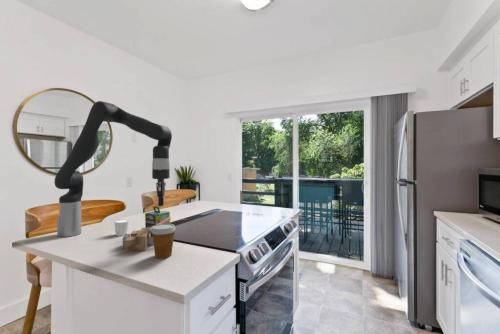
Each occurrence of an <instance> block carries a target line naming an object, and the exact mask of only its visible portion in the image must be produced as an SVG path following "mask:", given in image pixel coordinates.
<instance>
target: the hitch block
mask: <svg viewBox="0 0 500 334" xmlns="http://www.w3.org/2000/svg"><path fill="white" fill-rule="evenodd" d="M150 228H151V227H149V228H146V227H141V229H140V230H132V231H131V232H130V233H129V234H130V237H127V239H126V240H125V249H124V252H125V253H133V252H145V251H146V250H147V248H148V246H147V237H152V236H151V233H148V231H149V229H150Z"/></svg>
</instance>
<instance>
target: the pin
mask: <svg viewBox="0 0 500 334" xmlns="http://www.w3.org/2000/svg"><path fill="white" fill-rule="evenodd" d="M130 234H131V233H128V234H125V235H124V236H122V250H125V240H126V239H127V237H130ZM149 246H154V244H153V236H151V237H147V247H149Z"/></svg>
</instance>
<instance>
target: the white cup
mask: <svg viewBox="0 0 500 334" xmlns="http://www.w3.org/2000/svg"><path fill="white" fill-rule="evenodd" d="M129 227H130V220H129V219H120V220H115V221H114V228H115V230H114V231H115V236H117V237H123V236H124V235H125V234H129Z"/></svg>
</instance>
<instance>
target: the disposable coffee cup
mask: <svg viewBox="0 0 500 334" xmlns="http://www.w3.org/2000/svg"><path fill="white" fill-rule="evenodd" d="M151 232H152V236H153V244H154V245H153V249H154V257H155V259H167V258H170V257H171V256H172V253H173V247H174V240H175V239H174V237H175V232H176V226H175V224H173V223H170V224H158V225H155V226H153V227H152V229H151ZM152 236H151V237H152Z"/></svg>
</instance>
